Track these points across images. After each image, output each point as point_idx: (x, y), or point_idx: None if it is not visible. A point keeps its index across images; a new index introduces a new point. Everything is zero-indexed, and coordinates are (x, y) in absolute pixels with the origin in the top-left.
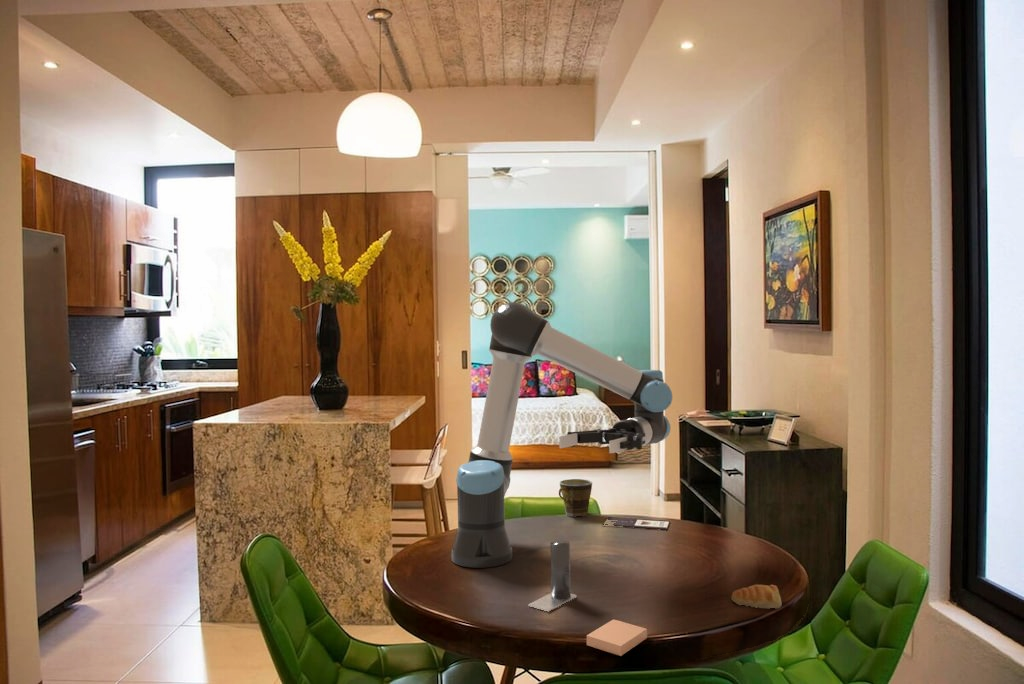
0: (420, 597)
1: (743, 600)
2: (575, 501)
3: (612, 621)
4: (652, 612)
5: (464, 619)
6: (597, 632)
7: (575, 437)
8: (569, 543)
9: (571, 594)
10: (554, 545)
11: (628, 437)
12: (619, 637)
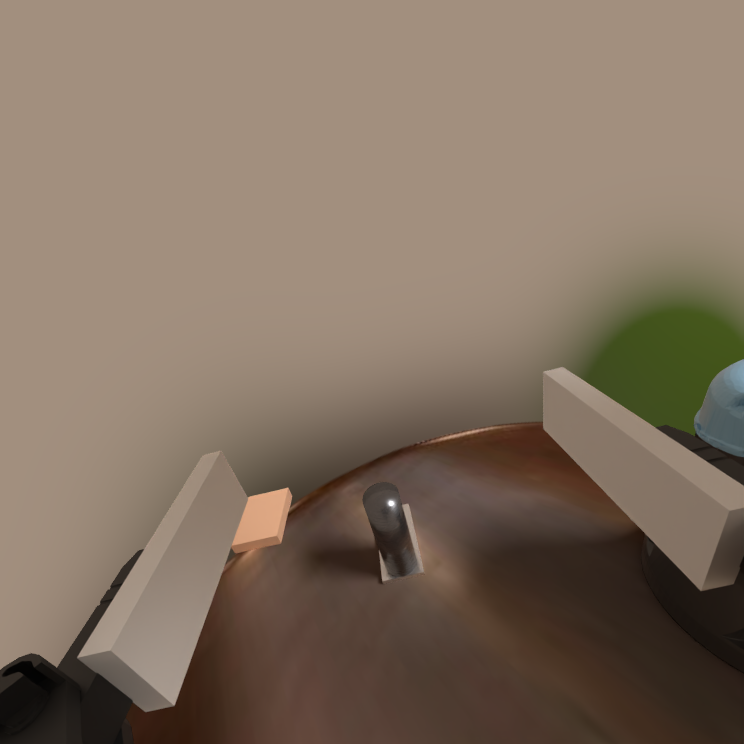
0: (525, 433)
1: None
2: None
3: (275, 530)
4: (243, 636)
5: (431, 443)
6: (280, 499)
7: (681, 508)
8: (364, 506)
9: (389, 576)
10: (379, 483)
11: (53, 666)
12: (254, 508)
